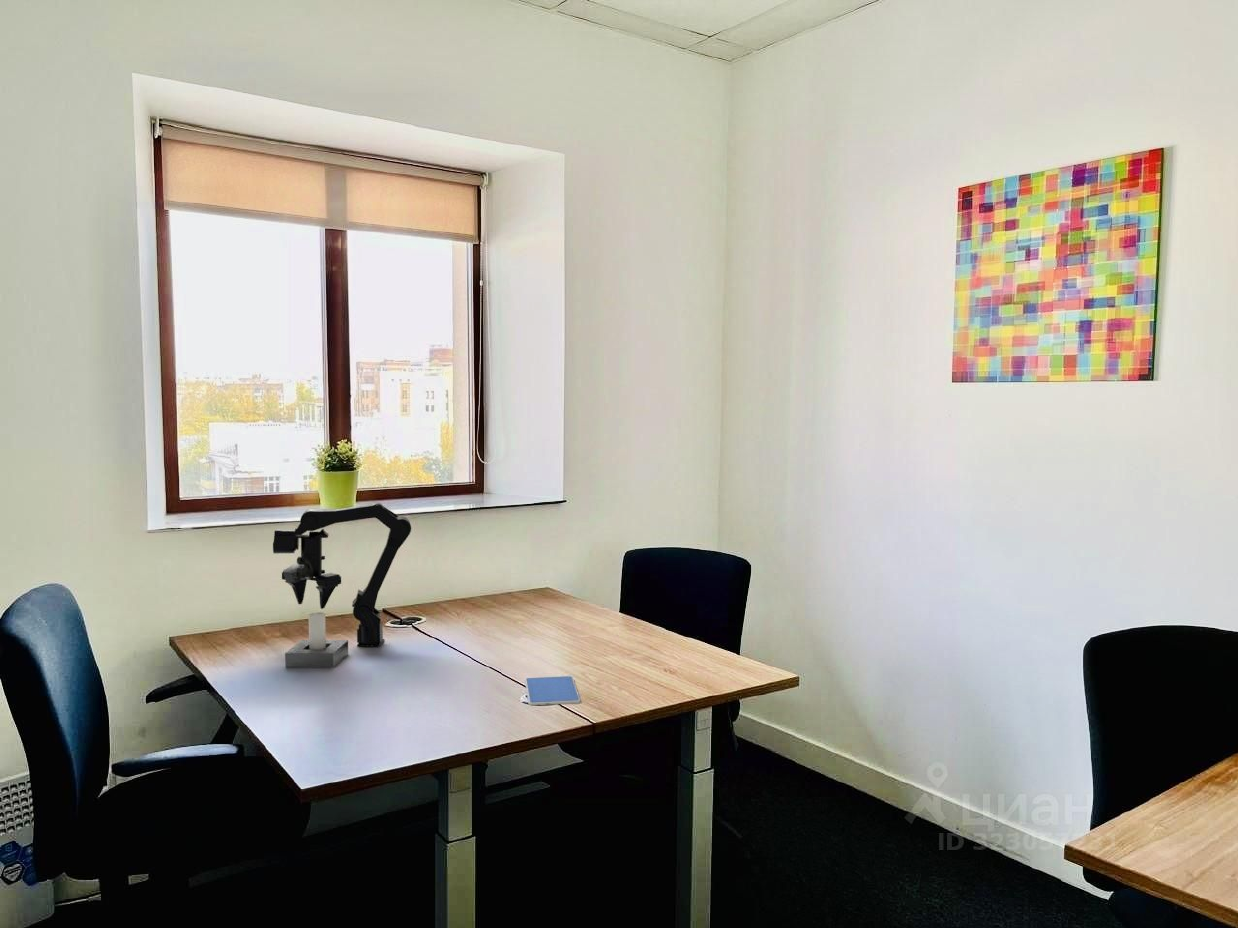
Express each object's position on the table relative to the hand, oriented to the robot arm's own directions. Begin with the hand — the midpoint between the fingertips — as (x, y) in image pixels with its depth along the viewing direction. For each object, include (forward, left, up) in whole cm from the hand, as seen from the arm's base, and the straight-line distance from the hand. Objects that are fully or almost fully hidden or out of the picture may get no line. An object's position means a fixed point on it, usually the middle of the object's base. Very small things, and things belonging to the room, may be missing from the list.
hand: (311, 606), depth 266 cm
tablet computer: (-73, +37, -13) cm, 83 cm away
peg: (-6, +13, -12) cm, 19 cm away
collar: (-6, +13, -12) cm, 19 cm away
